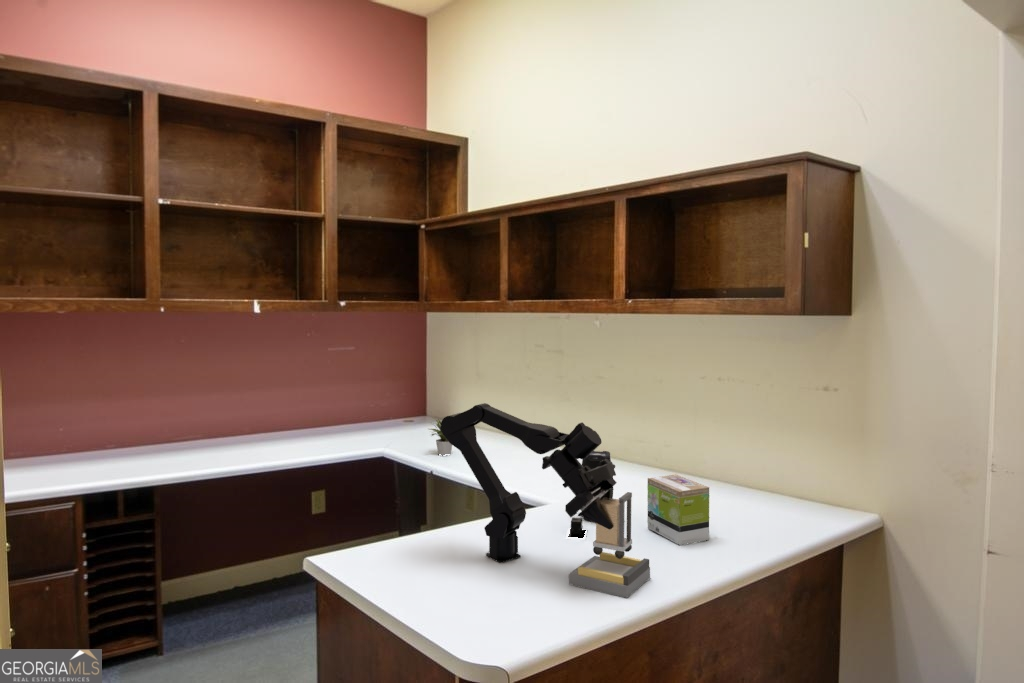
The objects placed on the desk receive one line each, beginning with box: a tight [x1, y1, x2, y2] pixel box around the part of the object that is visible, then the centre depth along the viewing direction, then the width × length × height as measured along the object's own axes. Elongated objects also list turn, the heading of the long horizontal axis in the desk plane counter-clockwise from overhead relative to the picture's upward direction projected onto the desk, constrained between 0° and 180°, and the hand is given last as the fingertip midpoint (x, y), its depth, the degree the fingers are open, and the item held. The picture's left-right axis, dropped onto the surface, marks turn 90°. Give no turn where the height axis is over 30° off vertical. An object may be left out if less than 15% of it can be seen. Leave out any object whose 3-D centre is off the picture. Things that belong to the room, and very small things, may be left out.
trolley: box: [592, 491, 633, 559], centre depth 161 cm, size 7×6×14 cm
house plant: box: [428, 418, 453, 455], centre depth 295 cm, size 14×14×16 cm
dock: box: [568, 551, 651, 599], centre depth 159 cm, size 14×13×4 cm
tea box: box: [647, 474, 710, 546], centre depth 190 cm, size 15×10×15 cm, turn 23°
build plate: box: [568, 517, 586, 538], centre depth 192 cm, size 12×7×5 cm, turn 170°
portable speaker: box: [581, 450, 614, 521], centre depth 205 cm, size 9×9×20 cm
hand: (615, 524), depth 160 cm, fingers closed on trolley, 5 cm apart
